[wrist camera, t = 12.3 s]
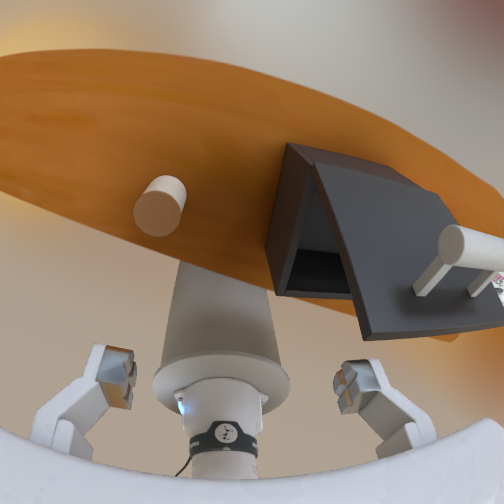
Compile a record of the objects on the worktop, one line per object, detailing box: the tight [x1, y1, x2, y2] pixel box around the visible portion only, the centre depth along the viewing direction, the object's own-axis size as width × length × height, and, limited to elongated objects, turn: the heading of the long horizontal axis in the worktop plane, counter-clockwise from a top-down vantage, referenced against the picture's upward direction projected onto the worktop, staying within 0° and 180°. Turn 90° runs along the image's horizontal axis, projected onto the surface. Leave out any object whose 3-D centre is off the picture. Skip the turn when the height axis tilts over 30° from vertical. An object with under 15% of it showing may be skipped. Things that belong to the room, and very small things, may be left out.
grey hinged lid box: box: [265, 143, 424, 300], centre depth 29 cm, size 13×13×9 cm
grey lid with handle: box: [311, 162, 504, 341], centre depth 15 cm, size 13×13×5 cm
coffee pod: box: [133, 175, 186, 237], centre depth 28 cm, size 5×5×5 cm
